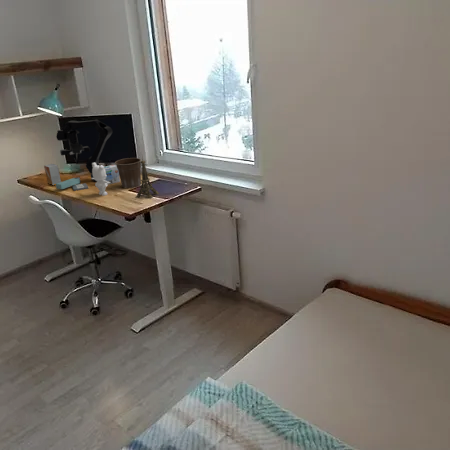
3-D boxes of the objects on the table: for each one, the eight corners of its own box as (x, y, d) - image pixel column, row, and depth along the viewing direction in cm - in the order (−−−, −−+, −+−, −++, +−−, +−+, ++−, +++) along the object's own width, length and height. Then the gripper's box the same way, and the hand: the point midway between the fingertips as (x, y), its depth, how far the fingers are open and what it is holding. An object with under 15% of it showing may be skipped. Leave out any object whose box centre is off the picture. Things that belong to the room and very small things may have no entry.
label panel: (86, 184, 305) (85, 182, 305) (88, 188, 296) (88, 186, 295) (72, 186, 302) (71, 185, 302) (74, 191, 293) (73, 189, 292)
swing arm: (82, 181, 306) (81, 177, 305) (61, 189, 293) (60, 184, 292) (77, 181, 309) (76, 176, 308) (56, 188, 295) (55, 184, 294)
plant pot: (138, 189, 287) (135, 164, 281) (114, 189, 290) (110, 164, 285) (147, 181, 302) (144, 157, 296) (124, 182, 305) (121, 158, 299)
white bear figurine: (99, 190, 291) (94, 160, 284) (118, 195, 278) (113, 163, 271) (89, 193, 286) (83, 162, 279) (107, 198, 273) (102, 166, 266)
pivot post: (80, 183, 308) (79, 181, 308) (80, 184, 306) (80, 182, 305) (75, 184, 307) (75, 182, 307) (76, 185, 305) (75, 183, 304)
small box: (47, 184, 313) (43, 165, 308) (56, 181, 317) (52, 163, 312) (52, 186, 307) (48, 167, 302) (61, 183, 311) (57, 165, 306)
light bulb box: (105, 185, 301) (103, 169, 297) (101, 183, 306) (98, 167, 302) (120, 181, 307) (118, 165, 303) (116, 179, 312) (113, 164, 308)
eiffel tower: (144, 192, 281) (138, 151, 271) (159, 193, 277) (154, 152, 268) (135, 197, 271) (129, 155, 262) (150, 198, 268) (145, 156, 259)
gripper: (60, 144, 296) (64, 167, 301) (89, 140, 303) (93, 163, 308) (58, 141, 305) (62, 164, 311) (86, 137, 312) (90, 160, 318)
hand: (77, 163), depth 312 cm, fingers closed
